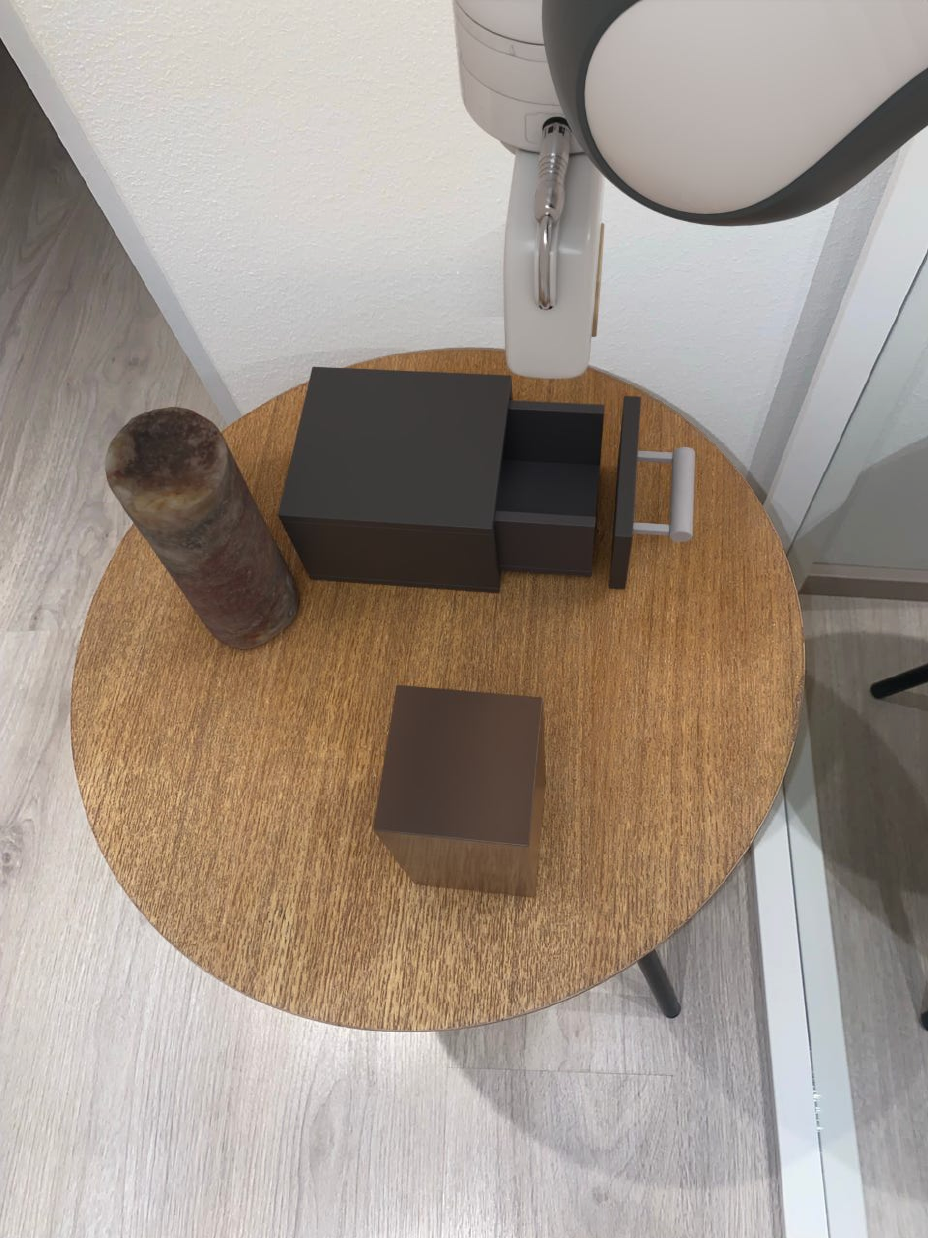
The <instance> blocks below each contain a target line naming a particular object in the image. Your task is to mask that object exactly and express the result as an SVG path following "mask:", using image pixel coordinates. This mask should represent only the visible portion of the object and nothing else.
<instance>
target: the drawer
mask: <svg viewBox="0 0 928 1238" xmlns="http://www.w3.org/2000/svg"><path fill="white" fill-rule="evenodd" d="M641 407H642V397H641V396H636V395H624V397H623V403H622V411H621V412H622V413H621V423H620V430H619V431H620V432H619V443H618V453H617V463H616V476H615V478H616V479H615V491H614V506H613V520H612V535H611V551H610V564H609V578H608V589H612V590H622V591H623V590H626V588H627V580H628V573H629V565H630V561H631V560H630V558H631V552H632V545H633V537H634V534H637V535H638V534H639V535H650V536H651V535H652V536H653V535H654V536H668V538H669V539H670V540H671V541H672V542H675V543H687V542H690V541H691V540H692V539H693V535H694V534H693V533H694V507H695V505H694V503H695V502H694V501H695V500H694V499H695V473H696V472H695V471H696V451H695V450H694V449H693V448H692V447H689V446H679V447H676V448H675V449H673V451H656V450H655V451H653V450H652V451H651V450H639V442H640V441H639V440H640V424H641ZM604 420H605V404H599V403H597V404H596V403H575V402H558V401H557V402H556V401H555V402H554V401H536V400H535V401H534V400H515V399H513V400H510V401H509V409H508V417H507V425H506V432H505V440H504V448H503V456H502V464H501V471H500V479H499V487H498V495H497V503H496V510H495V518H494V533H495V542H496V551H497V560H498V568H499V570H500V571H502V572H515V573H529V574H542V575H543V574H544V575H559V576H571V577H572V576H574V577H587V578H591V577H592V575H593V563H594V549H595V537H596V524H597V513H598V501H599V500H598V499H599V489H600V488H599V486H600V476H601V475H600V474H601V473H600V472H601V463H602V461H601V460H602V448H603V433H604V422H605V421H604ZM639 462H642V463H660V464H671V475H670V476H671V479H670V499H669V500H670V501H669V505H670V506H669V523H668V524H667V523H665V524H664V523H650V522H649V523H648V522H635V507H636V506H635V505H636V491H637V490H636V488H637V474H638V463H639Z"/></svg>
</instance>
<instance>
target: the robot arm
mask: <svg viewBox="0 0 928 1238" xmlns="http://www.w3.org/2000/svg"><path fill="white" fill-rule="evenodd" d="M451 6H452V16H453V25H454V27H453V28H454V36H455V37H454V38H455V48H456V59H457V69H458V81H459V89H460V96H461V100H462V103H463V106H464V108H465V109H466V111H467V113H468V114H469V116H470V118H471V120H473V122H475V124H476V125H477V126H478V127H479V128H480V129H481V130H482V131H484V132H485V133H486V134H488V135H489V136H491V137H493V138H494V139H496V140H497V141H499V142H500V144H501V145H502V146H503V147H504V148H505V149H506V150H508V151H509V152H510V153H511V154H512V155H514V163H513V169H512V176H511V184H510V192H509V199H508V205H507V214H506V219H505V226H504V227H505V228H504V239H503V256H502V258H503V260H502V283H503V286H502V287H503V289H502V290H503V291H502V292H503V294H502V295H503V325H504V326H503V327H504V352H505V363H506V366H507V368H508V370H509V371H510V372H511V373H513V375H516V376H519V377H522V378H523V377H524V378H528V379H539V380H540V379H541V380H569V379H571V380H572V379H576V378H579V377H582V376H583V375H585V373H586V371H587V370H588V367H589V365H590V363H589V362H590V357H591V346H592V338H593V337H592V325H593V314H594V302H595V290H596V279H597V267H598V255H599V244H600V232H601V223H602V218H603V210H604V209H603V208H604V198H605V197H604V195H605V184H606V179H607V180H608V181H609V183H611V185H613V186H614V188H617V189H618V190H619V191H620V192H621V193H623V194H624V195H626V196H627V197H628V198H630V199H631V200H632V201H635V202H636V203H638V204H639V205H641V206H643V207H645V208H646V209H649V210H651V211H652V212H655V213H657V214H660V215H663V216H665V217H669V218H671V219H674V220H678V221H683V222H687V223H691V224H697V225H703V226H712V227H713V226H714V227H750V226H751V227H753V226H759V225H760V226H761V225H768V224H773V223H779V222H783V221H788V220H791V219H795V218H798V217H801V216H805V215H807V214H809V213H812V212H815V211H817V210H819V209H820V208H823V207H825V206H826V205H829V204H831V202H833V201H836V199H838V198H839V197H841V196H843V195H844V194H846V193H847V192H848V191H850V190H851V189H853V188H854V187H855V186H856V185H857V184H859V183H860V182H861V181H863V180H864V179H865V178H866V177H868V176H869V175H870V174H872V173H873V171H875V170H876V169H877V168H879V166H881V165H882V164H883V163H884V162H885V161H887V159H889V158H890V157H891V156H892V155H894V153H895V152H897V151H898V150H899V149H900V148H901V147H902V146H904V145H905V144H906V143H907V142H909V141H910V140H911V139H913V138H914V137H915V136H916V135H918V134H920V132H921V131H923V130H925V129H926V128H927V127H928V0H451Z"/></svg>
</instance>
